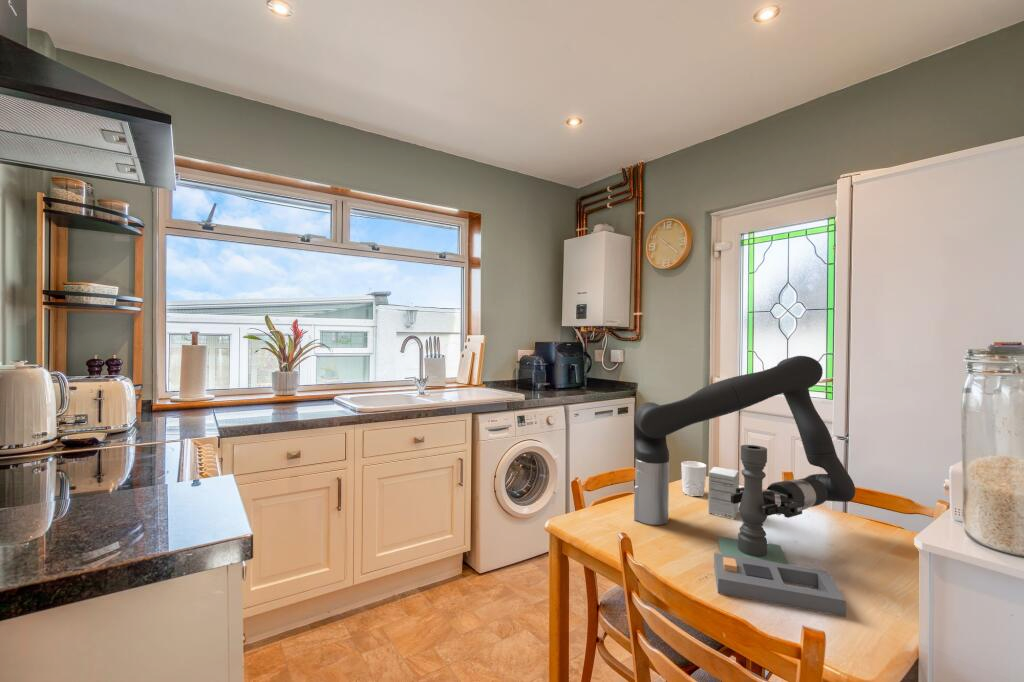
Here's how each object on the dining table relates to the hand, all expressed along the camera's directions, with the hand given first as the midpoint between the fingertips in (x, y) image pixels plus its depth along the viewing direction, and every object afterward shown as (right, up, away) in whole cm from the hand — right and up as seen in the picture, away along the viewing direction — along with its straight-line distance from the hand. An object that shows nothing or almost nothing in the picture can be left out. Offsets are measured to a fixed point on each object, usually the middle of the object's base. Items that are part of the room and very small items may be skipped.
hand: (747, 505), depth 109 cm
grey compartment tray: (-2, -13, -14) cm, 19 cm away
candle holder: (+2, -12, +1) cm, 12 cm away
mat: (+2, -12, +1) cm, 13 cm away
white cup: (+5, -12, +44) cm, 46 cm away
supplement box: (+7, -13, +28) cm, 31 cm away
